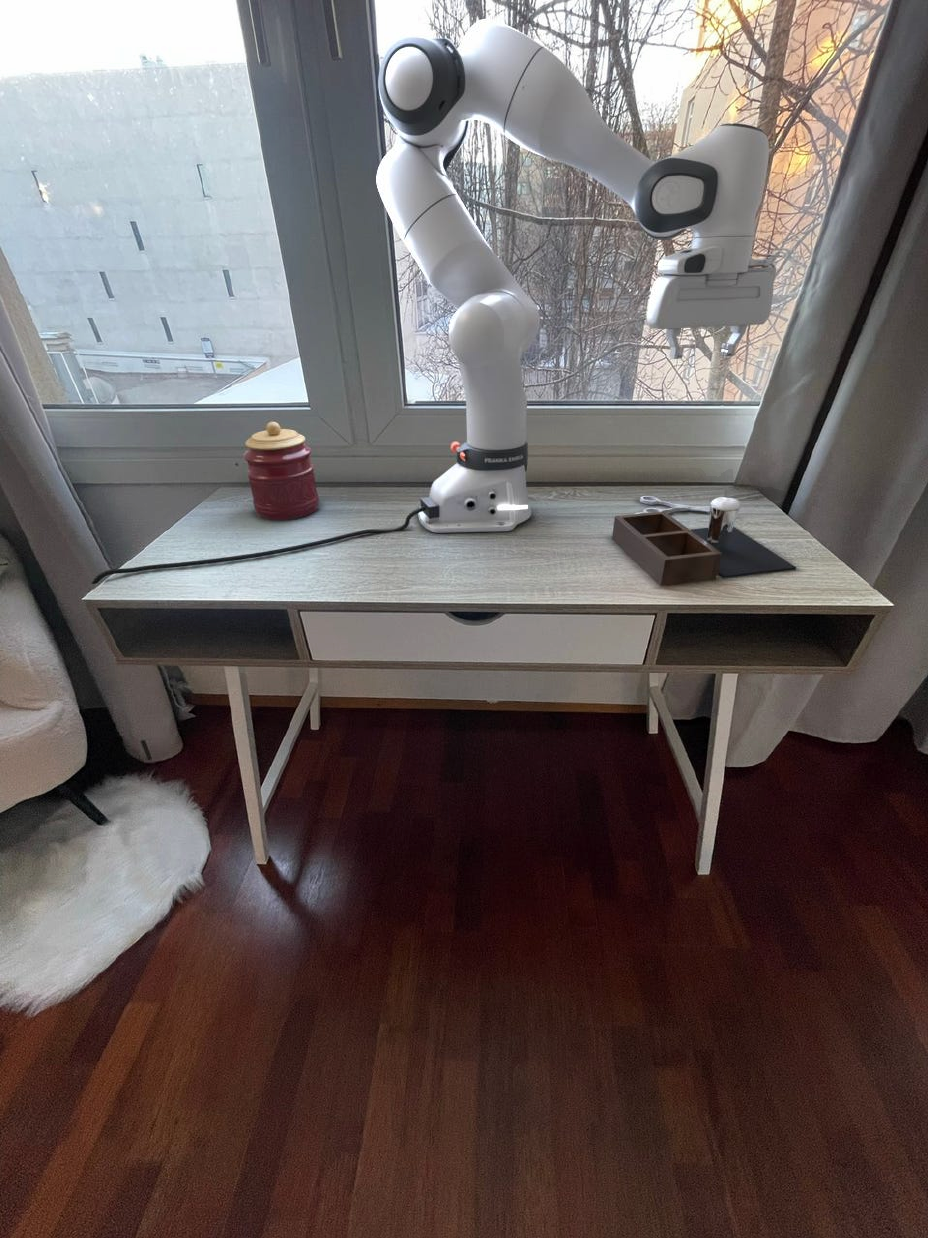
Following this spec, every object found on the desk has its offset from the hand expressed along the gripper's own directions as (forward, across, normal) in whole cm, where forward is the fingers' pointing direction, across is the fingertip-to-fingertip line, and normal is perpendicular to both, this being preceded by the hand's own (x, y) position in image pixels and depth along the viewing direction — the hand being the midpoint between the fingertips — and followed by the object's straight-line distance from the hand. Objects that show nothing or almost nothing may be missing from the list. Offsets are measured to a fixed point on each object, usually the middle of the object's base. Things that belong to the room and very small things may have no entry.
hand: (701, 356), depth 98 cm
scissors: (+29, -5, -4) cm, 30 cm away
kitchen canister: (+29, +73, -25) cm, 83 cm away
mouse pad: (+29, -2, +14) cm, 33 cm away
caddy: (+29, +10, +14) cm, 34 cm away
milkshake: (+29, 0, +14) cm, 32 cm away
